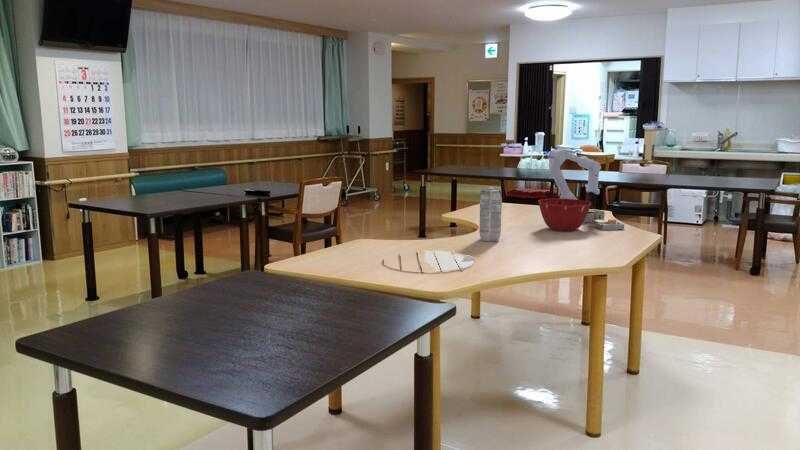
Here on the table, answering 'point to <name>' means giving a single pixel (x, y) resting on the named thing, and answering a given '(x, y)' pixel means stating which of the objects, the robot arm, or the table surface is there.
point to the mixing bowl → (564, 213)
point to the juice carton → (490, 214)
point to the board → (599, 222)
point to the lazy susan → (448, 260)
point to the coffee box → (594, 215)
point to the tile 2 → (611, 221)
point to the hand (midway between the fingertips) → (591, 205)
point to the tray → (610, 226)
